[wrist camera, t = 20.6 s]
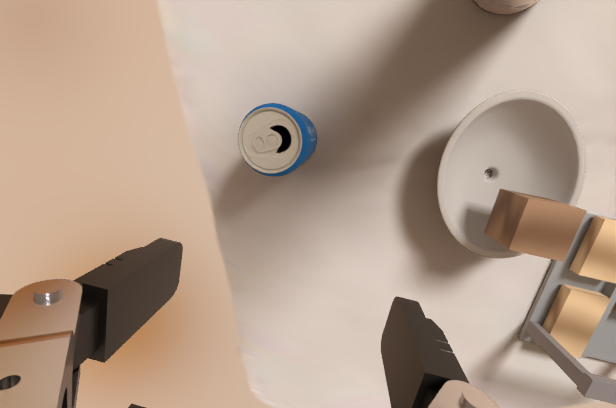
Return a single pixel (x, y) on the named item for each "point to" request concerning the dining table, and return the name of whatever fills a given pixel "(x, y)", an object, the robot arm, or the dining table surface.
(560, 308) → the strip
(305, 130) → the beverage can
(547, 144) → the dish
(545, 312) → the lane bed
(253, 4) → the dining table surface
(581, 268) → the light wood block
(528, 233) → the walnut block
